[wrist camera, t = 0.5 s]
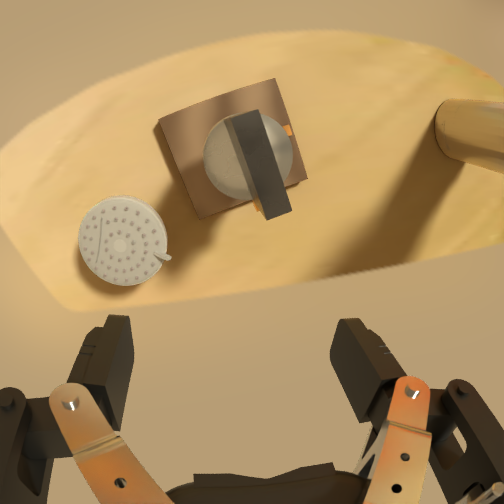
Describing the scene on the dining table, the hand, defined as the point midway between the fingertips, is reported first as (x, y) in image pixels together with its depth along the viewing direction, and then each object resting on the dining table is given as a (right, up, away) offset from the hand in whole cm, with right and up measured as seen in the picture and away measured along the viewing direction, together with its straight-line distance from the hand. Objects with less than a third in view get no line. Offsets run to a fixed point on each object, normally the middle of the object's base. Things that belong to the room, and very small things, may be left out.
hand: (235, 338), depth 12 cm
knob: (0, +11, +15) cm, 19 cm away
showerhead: (-13, +6, +24) cm, 28 cm away
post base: (-1, +15, +22) cm, 27 cm away
